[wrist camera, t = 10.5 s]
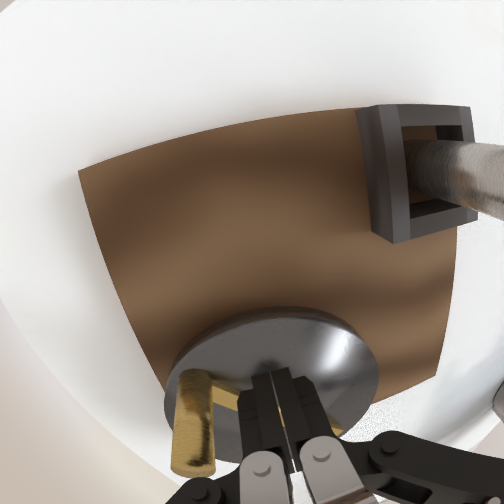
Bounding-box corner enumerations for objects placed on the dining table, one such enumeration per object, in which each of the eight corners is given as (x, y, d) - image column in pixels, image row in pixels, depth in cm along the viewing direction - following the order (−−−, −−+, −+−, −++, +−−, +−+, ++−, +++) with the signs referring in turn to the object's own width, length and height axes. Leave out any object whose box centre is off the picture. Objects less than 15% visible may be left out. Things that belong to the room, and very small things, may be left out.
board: (428, 367, 21) (448, 391, 17) (199, 435, 20) (199, 469, 17) (435, 108, 14) (473, 105, 10) (87, 169, 13) (55, 175, 10)
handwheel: (249, 259, 13) (280, 356, 7) (402, 357, 16) (455, 426, 10) (134, 410, 15) (118, 498, 9) (283, 459, 18) (300, 527, 12)
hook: (434, 204, 14) (597, 277, 4) (396, 212, 14) (575, 305, 4) (426, 120, 13) (608, 133, 2) (386, 121, 13) (593, 127, 2)
